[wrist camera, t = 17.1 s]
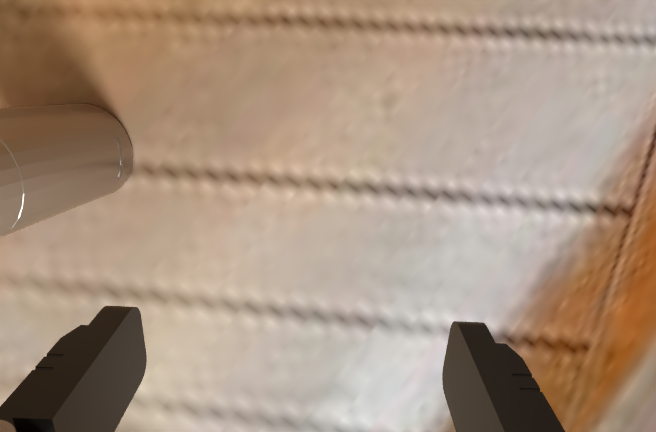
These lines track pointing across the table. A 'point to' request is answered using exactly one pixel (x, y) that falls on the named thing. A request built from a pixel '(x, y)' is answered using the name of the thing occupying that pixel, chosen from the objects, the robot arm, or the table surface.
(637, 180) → the table surface
